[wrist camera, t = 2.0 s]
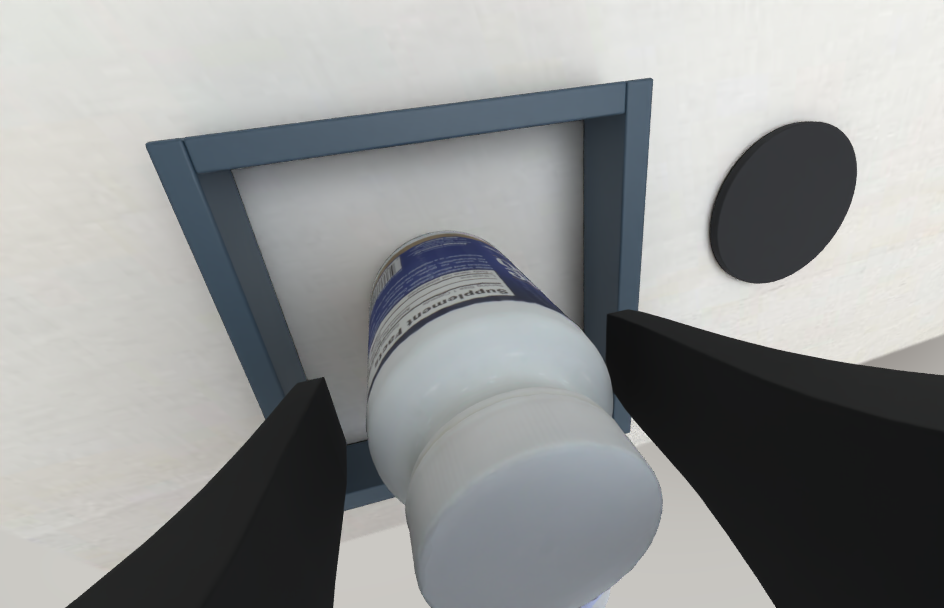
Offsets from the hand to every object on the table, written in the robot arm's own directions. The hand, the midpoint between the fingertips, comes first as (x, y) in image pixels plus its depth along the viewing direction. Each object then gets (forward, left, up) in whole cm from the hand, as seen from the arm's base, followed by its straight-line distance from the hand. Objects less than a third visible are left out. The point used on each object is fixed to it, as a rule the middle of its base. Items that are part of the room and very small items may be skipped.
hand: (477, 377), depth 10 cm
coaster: (+9, -11, -5) cm, 15 cm away
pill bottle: (0, 0, -5) cm, 5 cm away
